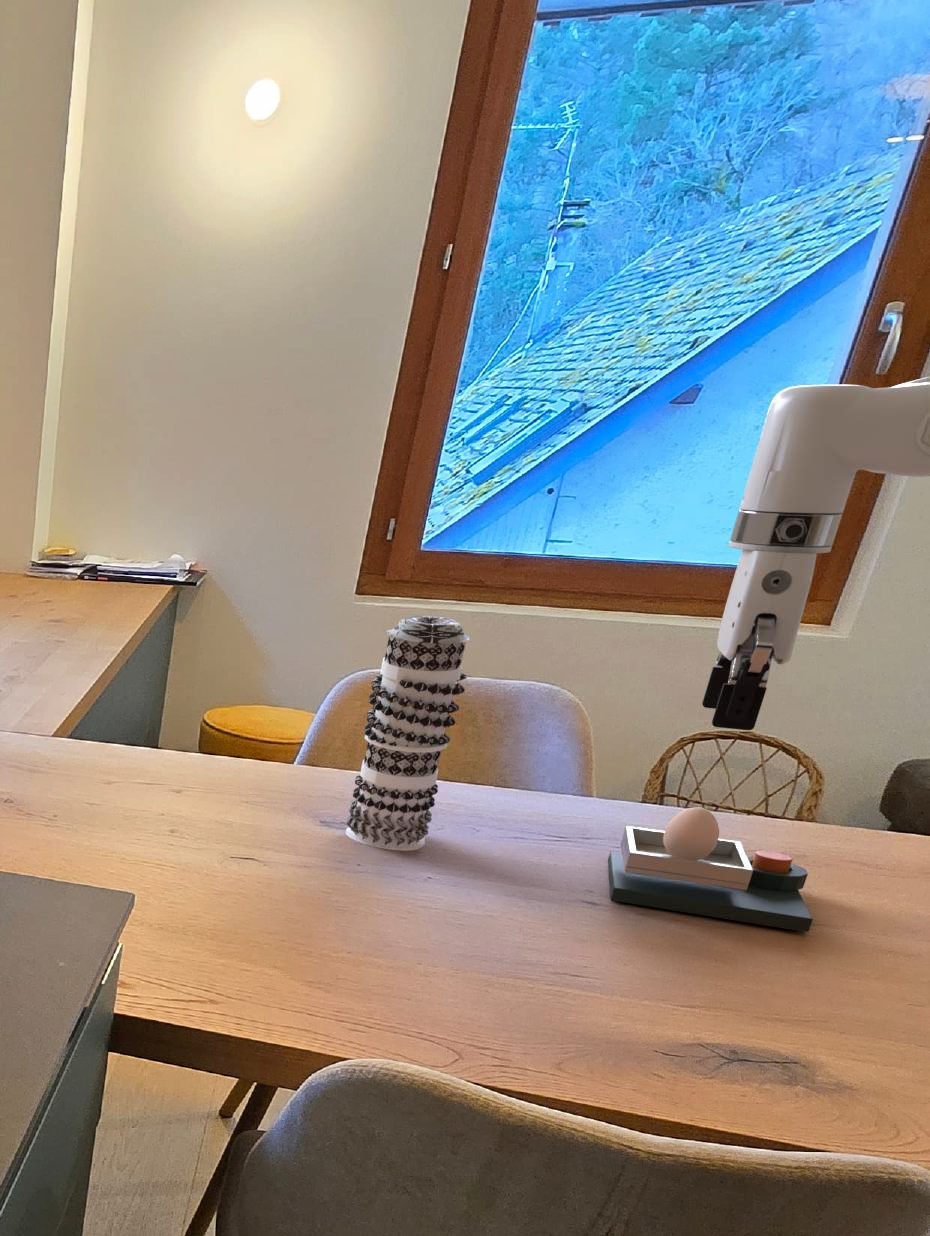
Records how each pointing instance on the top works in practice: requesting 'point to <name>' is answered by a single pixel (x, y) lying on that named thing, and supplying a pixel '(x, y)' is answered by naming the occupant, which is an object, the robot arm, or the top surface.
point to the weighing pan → (685, 860)
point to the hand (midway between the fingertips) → (726, 718)
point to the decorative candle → (407, 733)
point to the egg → (691, 834)
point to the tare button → (772, 861)
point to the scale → (719, 895)
